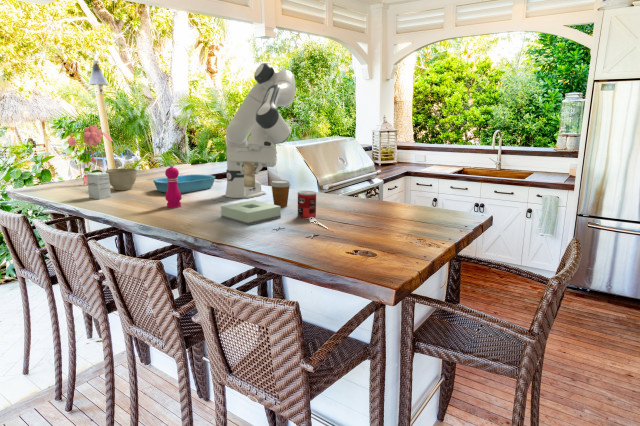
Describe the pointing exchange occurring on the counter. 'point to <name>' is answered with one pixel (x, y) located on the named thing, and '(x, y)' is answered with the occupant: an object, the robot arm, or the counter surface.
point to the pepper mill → (172, 188)
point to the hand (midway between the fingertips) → (249, 172)
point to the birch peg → (249, 174)
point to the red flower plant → (90, 142)
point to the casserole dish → (187, 183)
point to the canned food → (306, 204)
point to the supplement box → (98, 185)
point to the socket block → (250, 212)
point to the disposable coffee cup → (280, 192)
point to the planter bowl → (122, 178)
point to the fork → (316, 223)
